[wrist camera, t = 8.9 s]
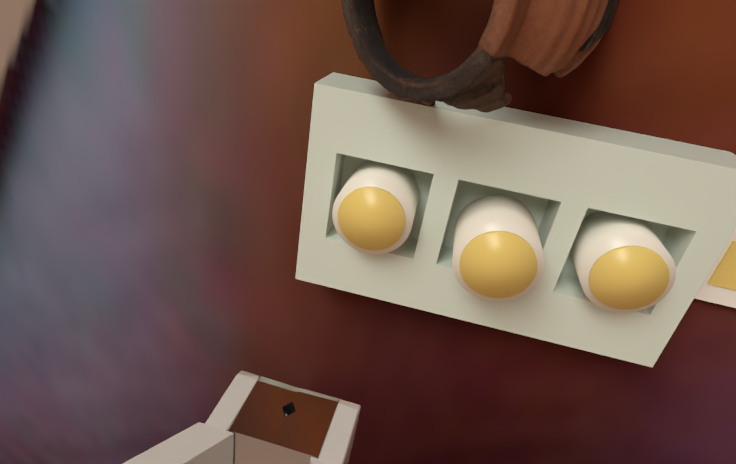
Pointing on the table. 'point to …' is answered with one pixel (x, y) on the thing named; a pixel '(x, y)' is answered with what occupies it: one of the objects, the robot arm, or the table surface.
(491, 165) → the button board
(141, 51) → the table surface
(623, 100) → the table surface
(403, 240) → the button
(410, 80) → the pottery mug
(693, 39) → the table surface
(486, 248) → the button
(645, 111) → the table surface
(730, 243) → the card
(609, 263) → the button
